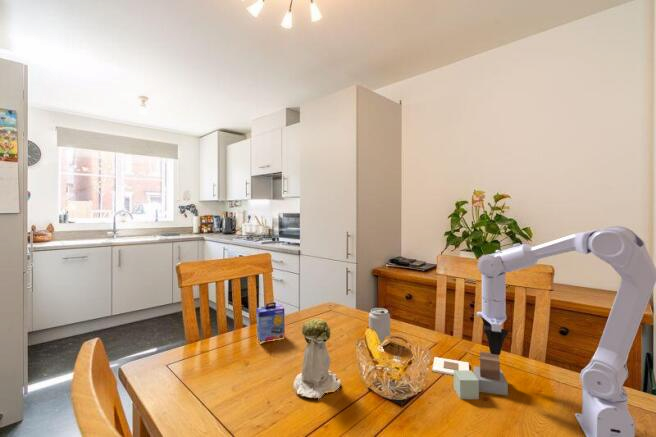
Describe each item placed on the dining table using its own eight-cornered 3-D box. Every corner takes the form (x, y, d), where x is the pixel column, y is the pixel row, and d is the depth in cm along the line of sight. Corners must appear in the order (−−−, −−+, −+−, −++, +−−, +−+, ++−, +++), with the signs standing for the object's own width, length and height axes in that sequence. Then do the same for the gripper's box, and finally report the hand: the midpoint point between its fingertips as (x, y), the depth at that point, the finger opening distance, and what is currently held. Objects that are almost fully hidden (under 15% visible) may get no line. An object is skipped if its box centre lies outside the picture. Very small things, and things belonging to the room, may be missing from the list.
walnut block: (499, 380, 81) (499, 361, 81) (480, 376, 83) (480, 358, 83) (498, 371, 85) (498, 353, 85) (479, 368, 87) (479, 350, 87)
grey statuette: (285, 385, 87) (283, 320, 86) (322, 369, 95) (320, 310, 94) (308, 406, 77) (306, 334, 77) (347, 386, 85) (346, 321, 84)
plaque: (469, 378, 88) (469, 375, 88) (432, 371, 92) (432, 368, 92) (468, 364, 95) (468, 361, 95) (434, 358, 99) (434, 356, 99)
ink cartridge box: (259, 345, 112) (258, 305, 111) (256, 339, 117) (255, 301, 116) (285, 339, 116) (284, 301, 115) (281, 334, 121) (280, 297, 120)
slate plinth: (507, 396, 80) (507, 383, 79) (477, 392, 82) (477, 379, 82) (501, 381, 86) (501, 369, 86) (473, 378, 88) (473, 366, 88)
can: (390, 348, 107) (389, 314, 106) (368, 347, 108) (368, 313, 108) (390, 339, 114) (390, 307, 114) (370, 338, 116) (369, 306, 115)
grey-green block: (478, 399, 78) (478, 380, 78) (460, 399, 79) (460, 380, 78) (471, 388, 83) (471, 370, 83) (453, 388, 83) (453, 370, 83)
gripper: (475, 289, 92) (475, 334, 92) (478, 304, 78) (478, 357, 79) (502, 291, 89) (502, 338, 89) (510, 307, 75) (510, 362, 76)
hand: (493, 347), depth 84 cm, fingers open, 7 cm apart
